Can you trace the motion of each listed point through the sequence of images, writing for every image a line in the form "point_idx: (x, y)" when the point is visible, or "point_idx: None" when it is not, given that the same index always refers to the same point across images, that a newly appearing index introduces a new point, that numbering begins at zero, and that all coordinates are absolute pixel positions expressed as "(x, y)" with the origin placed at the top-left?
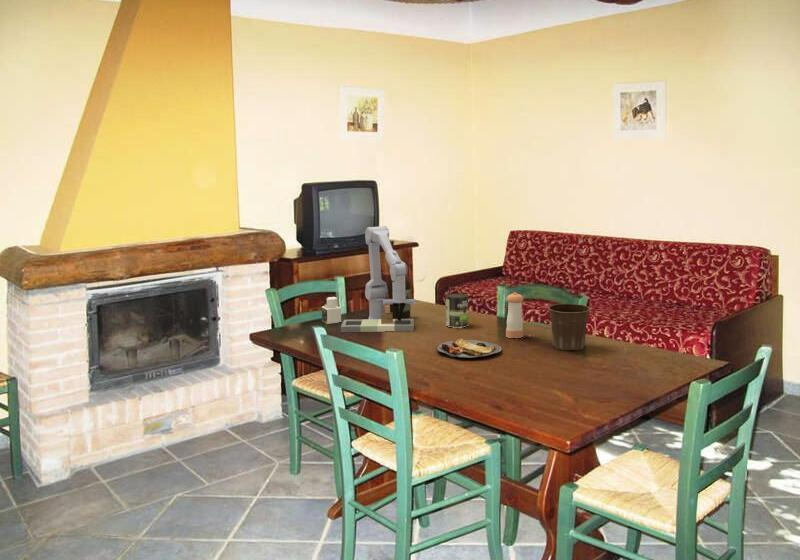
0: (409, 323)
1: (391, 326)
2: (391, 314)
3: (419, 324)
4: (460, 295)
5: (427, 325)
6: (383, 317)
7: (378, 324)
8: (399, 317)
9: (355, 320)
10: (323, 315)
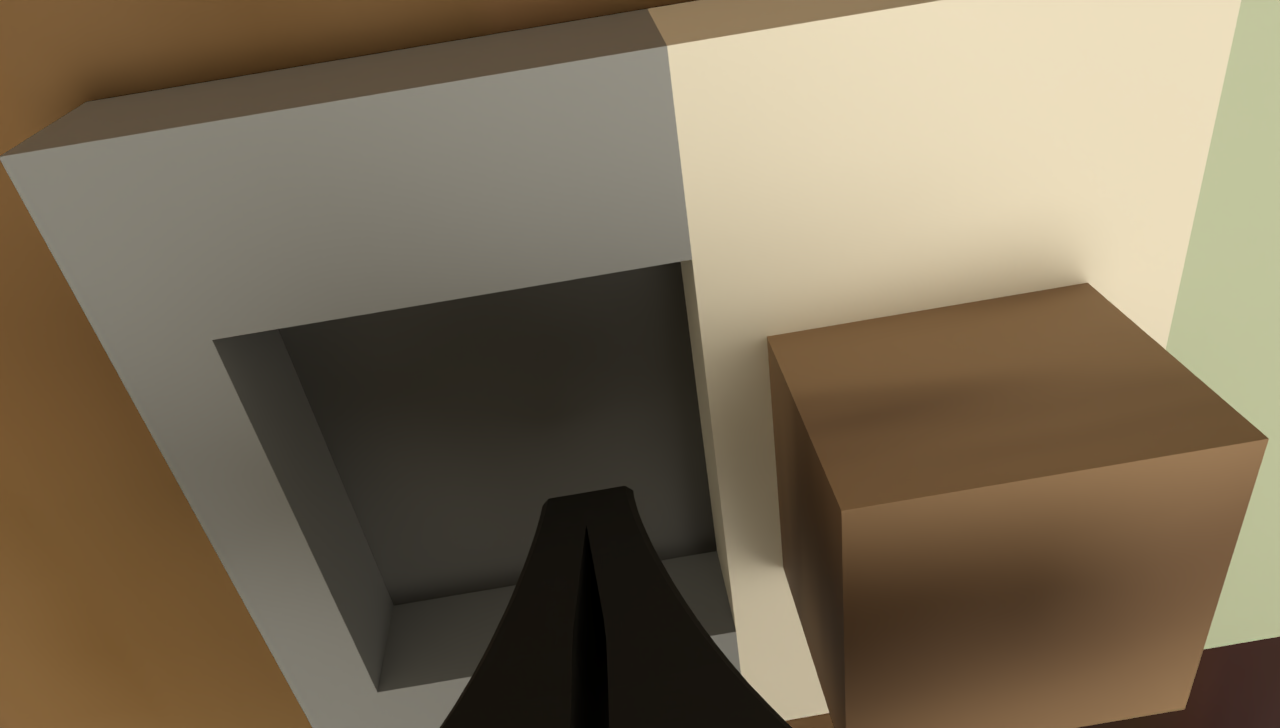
0: (412, 627)
1: (763, 25)
2: (872, 559)
3: (250, 689)
4: None
5: (45, 651)
6: (1123, 398)
7: (1177, 193)
8: (583, 542)
9: None
10: None
